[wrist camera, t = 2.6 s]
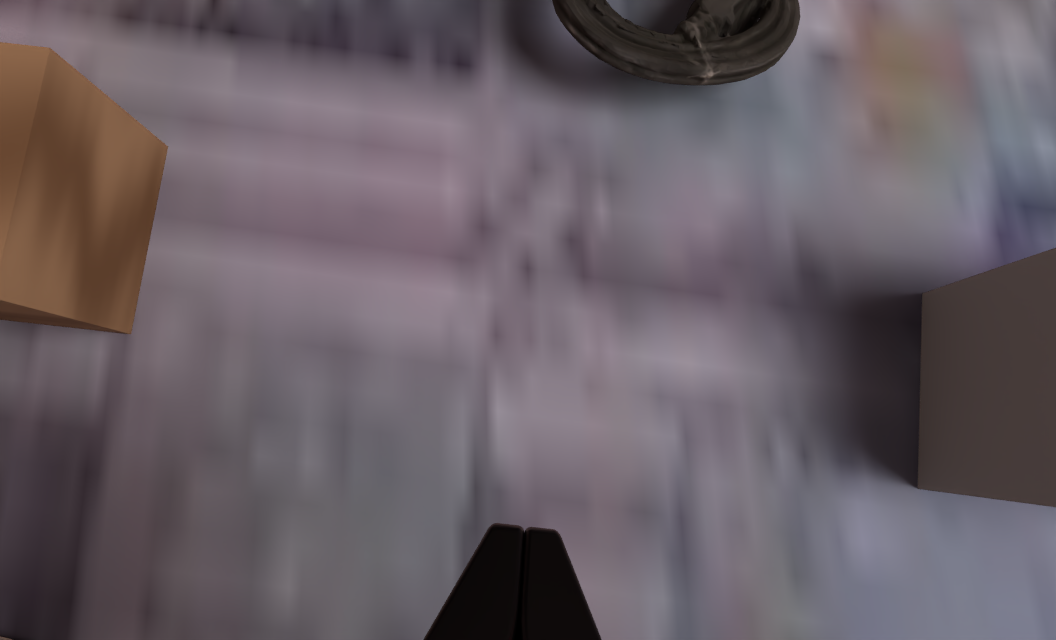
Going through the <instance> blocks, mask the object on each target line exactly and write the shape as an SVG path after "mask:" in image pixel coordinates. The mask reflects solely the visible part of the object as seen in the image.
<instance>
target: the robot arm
mask: <svg viewBox="0 0 1056 640" xmlns="http://www.w3.org/2000/svg"><path fill="white" fill-rule="evenodd" d="M424 640H601V637H600V635H599V632H598V629H597V627H596V624H595V622H594V619H593V617H592V614H591V612H590V609H589V607H588V604H587V601H586V599H585V596H584V594H583V591H582V589H581V586H580V584H579V581H578V579H577V576H576V573H575V571H574V568H573V566H572V563H571V561H570V558H569V556H568V553H567V551H566V548H565V546H564V543H563V540H562V538H561V536H560V534H559V533H558V532H557V531H556V530H554V529H546V528H537V527H529V528H527V529H526V530H525V533H524V530H523V528H522V527H521V526H519V525H510V524H501V523H494V524H492V525H491V526H490V527H489V528H488V530H487V532H486V533H485V535H484V537H483V538H482V540H481V542H480V544H479V545H478V547H477V549H476V550H475V552H474V554H473V556H472V557H471V559H470V561H469V562H468V564H467V566H466V568H465V569H464V571H463V573H462V574H461V576H460V578H459V580H458V581H457V583H456V585H455V586H454V588H453V590H452V592H451V593H450V595H449V597H448V598H447V600H446V602H445V604H444V605H443V607H442V609H441V610H440V612H439V614H438V616H437V617H436V619H435V621H434V622H433V624H432V626H431V628H430V629H429V631H428V633H427V634H426V636H425V638H424Z"/></svg>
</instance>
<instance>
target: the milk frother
mask: <svg viewBox="0 0 1056 640" xmlns="http://www.w3.org/2000/svg"><path fill="white" fill-rule="evenodd" d="M552 2H553V5H554V8H555V11H556V14H557V16H558V17H559V19H560V21H561V22H562V23H563V25H564V26H565V28H566V29H567V30H568V31H569V32H570V34H571V35H572V36H573V37H574V38H575V39H576V40H577V41H578V42H579V43H580V44H581V45H582V46H583V47H584V48H585V49H586V50H588V51H589V52H590V53H592V54H593V55H594V56H596V57H597V58H598V59H600V60H602V61H604V62H606V63H607V64H609V65H611V66H613V67H615V68H617V69H620V70H622V71H624V72H627V73H630V74H632V75H635V76H638V77H642V78H645V79H649V80H653V81H657V82H663V83H672V84H681V85H719V84H724V83H730V82H736V81H741V80H745V79H748V78H750V77H753V76H755V75H758V74H760V73H762V72H764V71H766V70H767V69H769V68H770V67H772V66H774V65H775V64H776V63H777V62H778V61H779V60H780V58H781V57H782V56H783V55H784V53H785V52H786V51H787V49H788V48H789V46H790V45H791V43H792V42H793V40H794V38H795V36H796V33H797V29H798V25H799V20H800V7H799V2H798V0H695V1H694V2H693V4H692V5H691V7H690V9H689V12H688V14H687V19H686V21H681V22H680V23H679V25H678V26H677V28H676V30H675V32H674V33H673V35H668V34H663V33H658V32H656V31H652V30H648V29H646V28H643V27H641V26H638V25H635V24H633V23H632V22H631V21H629V20H627V19H624V18H622V17H621V16H620V15H619V14H618V13H617V12H616V11H614V10H613V9H612V8H611V6H610V5H609V4H608V2H607V1H606V0H552ZM759 18H760V19H759ZM758 19H759V20H758Z"/></svg>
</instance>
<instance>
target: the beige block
mask: <svg viewBox="0 0 1056 640" xmlns="http://www.w3.org/2000/svg"><path fill="white" fill-rule="evenodd" d="M918 489H923V490H931V491H938V492H946V493H953V494H961V495H969V496H976V497H984V498H991V499H999V500H1006V501H1014V502H1021V503H1029V504H1036V505H1044V506H1051V507H1056V248H1054V249H1051V250H1048V251H1045V252H1042V253H1039V254H1036V255H1033V256H1030V257H1027V258H1024V259H1021V260H1019V261H1016V262H1013V263H1010V264H1007V265H1004V266H1001V267H998V268H995V269H992V270H989V271H986V272H984V273H981V274H978V275H975V276H972V277H969V278H966V279H963V280H960V281H957V282H954V283H951V284H949V285H946V286H943V287H940V288H937V289H934V290H931V291H928V292H925V293H922V331H921V372H920V412H919V453H918Z"/></svg>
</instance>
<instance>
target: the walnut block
mask: <svg viewBox="0 0 1056 640" xmlns="http://www.w3.org/2000/svg"><path fill="white" fill-rule="evenodd" d="M167 149H168V146H166V145H165V144H164V143H163V142H162V141H161V140H159V139H158V138H157V137H156V136H155V135H153V134H152V133H151V132H150V131H149V130H147V129H146V128H145V127H144V126H143V125H141V124H140V123H139V122H138V121H137V120H135V119H134V118H133V117H132V116H131V115H129V114H128V113H127V112H126V111H125V110H124V109H122V108H121V107H120V106H119V105H118V104H116V103H115V102H114V101H113V100H112V99H110V98H109V97H108V96H107V95H106V94H104V93H103V92H102V91H101V90H100V89H98V88H97V87H96V86H95V85H94V84H92V83H91V82H90V81H89V80H88V79H86V78H85V77H84V76H83V75H82V74H81V73H79V72H78V71H77V70H76V69H75V68H73V67H72V66H71V65H70V64H69V63H67V62H66V61H65V60H64V59H63V58H61V57H60V56H59V55H58V54H57V53H55V52H54V51H53V50H52V49H51V48H46V47H37V46H28V45H20V44H11V43H2V42H0V320H9V321H18V322H27V323H36V324H44V325H53V326H62V327H71V328H80V329H89V330H98V331H107V332H116V333H125V334H131V331H132V326H133V321H134V316H135V311H136V306H137V301H138V296H139V291H140V286H141V280H142V275H143V270H144V265H145V260H146V255H147V250H148V245H149V240H150V235H151V230H152V225H153V220H154V215H155V210H156V205H157V200H158V195H159V190H160V185H161V180H162V175H163V170H164V164H165V159H166V154H167Z"/></svg>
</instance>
